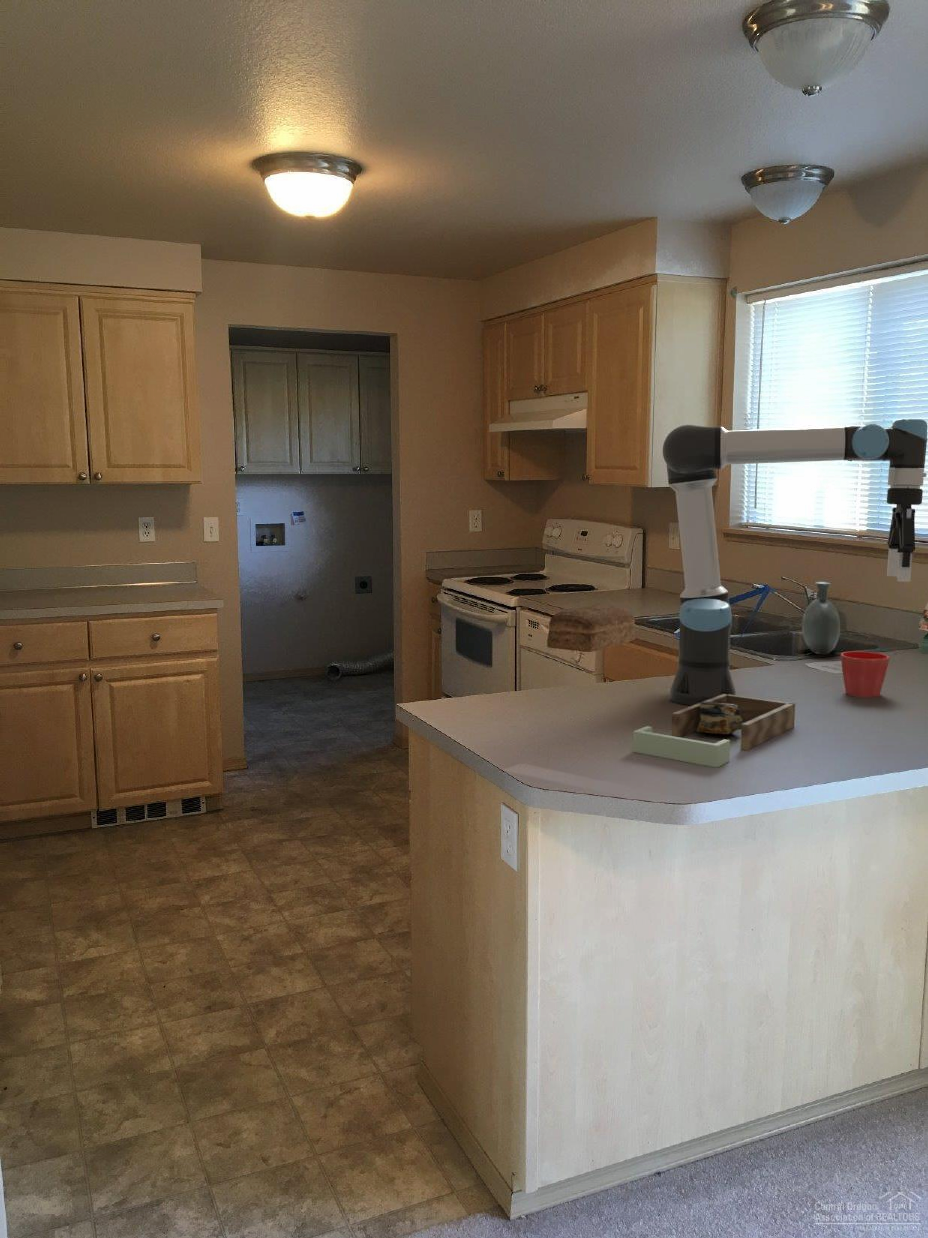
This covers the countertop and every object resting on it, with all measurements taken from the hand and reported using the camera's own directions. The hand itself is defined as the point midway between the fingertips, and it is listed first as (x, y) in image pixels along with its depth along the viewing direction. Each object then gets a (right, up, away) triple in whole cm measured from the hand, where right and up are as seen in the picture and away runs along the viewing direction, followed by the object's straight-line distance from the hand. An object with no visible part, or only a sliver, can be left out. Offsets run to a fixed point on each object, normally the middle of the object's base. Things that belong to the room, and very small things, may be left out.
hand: (898, 578), depth 235 cm
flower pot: (-5, -28, +9) cm, 30 cm away
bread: (-62, -19, +80) cm, 103 cm away
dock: (-61, -35, -47) cm, 84 cm away
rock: (-50, -34, -33) cm, 69 cm away
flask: (+4, -20, +64) cm, 68 cm away
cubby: (-46, -33, -28) cm, 63 cm away
